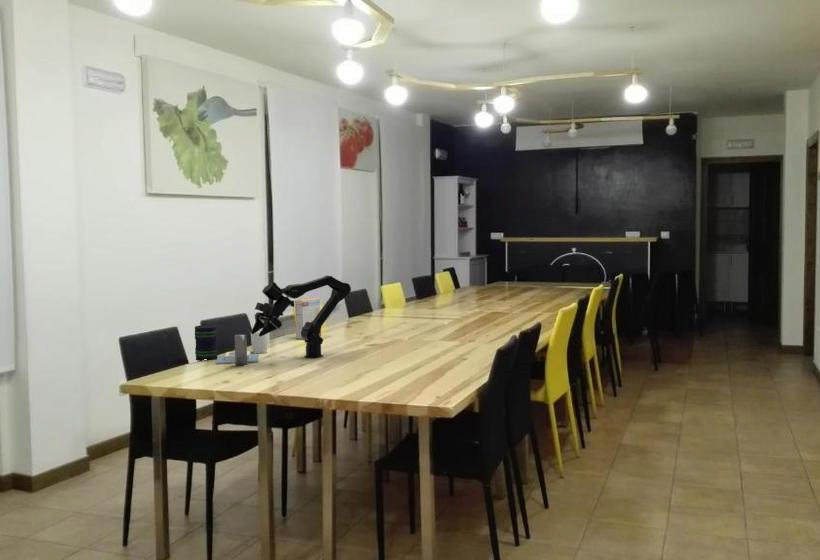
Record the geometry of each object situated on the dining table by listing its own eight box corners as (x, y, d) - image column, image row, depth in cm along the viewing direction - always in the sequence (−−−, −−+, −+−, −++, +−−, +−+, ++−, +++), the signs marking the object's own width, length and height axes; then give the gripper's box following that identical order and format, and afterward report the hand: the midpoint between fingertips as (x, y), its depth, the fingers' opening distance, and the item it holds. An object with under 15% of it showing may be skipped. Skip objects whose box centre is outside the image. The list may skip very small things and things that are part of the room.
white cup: (264, 354, 346) (263, 333, 345) (248, 353, 348) (247, 332, 347) (270, 351, 354) (270, 330, 353) (255, 350, 355) (254, 330, 355)
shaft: (249, 364, 320) (248, 335, 319) (240, 366, 315) (240, 336, 314) (241, 363, 322) (240, 334, 321) (232, 365, 318) (232, 335, 317)
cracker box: (313, 335, 402) (312, 297, 400) (321, 336, 399) (320, 298, 397) (295, 339, 391) (294, 299, 389) (303, 340, 387) (302, 300, 386)
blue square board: (258, 355, 342) (258, 349, 342) (257, 362, 324) (257, 356, 324) (218, 357, 339) (218, 351, 339) (215, 364, 321) (215, 358, 321)
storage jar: (205, 361, 328) (204, 328, 327) (190, 359, 333) (189, 327, 332) (222, 358, 336) (221, 325, 335) (207, 356, 342) (206, 324, 340)
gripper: (258, 294, 331) (235, 320, 326) (274, 297, 316) (250, 325, 310) (275, 310, 336) (252, 336, 331) (291, 314, 320) (268, 341, 315)
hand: (255, 334), depth 322 cm, fingers open, 9 cm apart
